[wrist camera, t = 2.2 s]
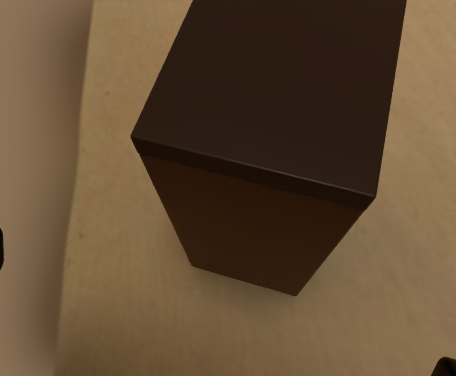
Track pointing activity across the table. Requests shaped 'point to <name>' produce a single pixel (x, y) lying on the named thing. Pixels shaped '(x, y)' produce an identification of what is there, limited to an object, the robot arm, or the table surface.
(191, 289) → the table surface
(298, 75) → the brown wooden block
